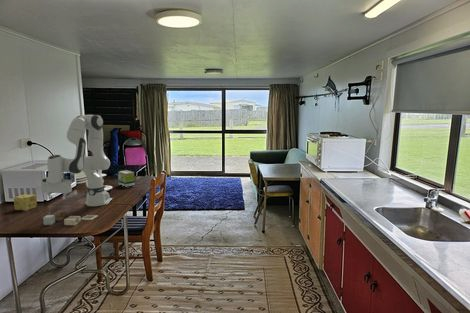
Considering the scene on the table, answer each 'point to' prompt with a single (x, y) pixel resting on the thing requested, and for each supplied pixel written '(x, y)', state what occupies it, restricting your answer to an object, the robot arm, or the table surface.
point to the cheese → (25, 202)
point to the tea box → (126, 178)
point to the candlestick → (103, 180)
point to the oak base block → (72, 220)
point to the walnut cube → (59, 215)
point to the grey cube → (49, 219)
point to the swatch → (89, 217)
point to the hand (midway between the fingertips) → (57, 198)
